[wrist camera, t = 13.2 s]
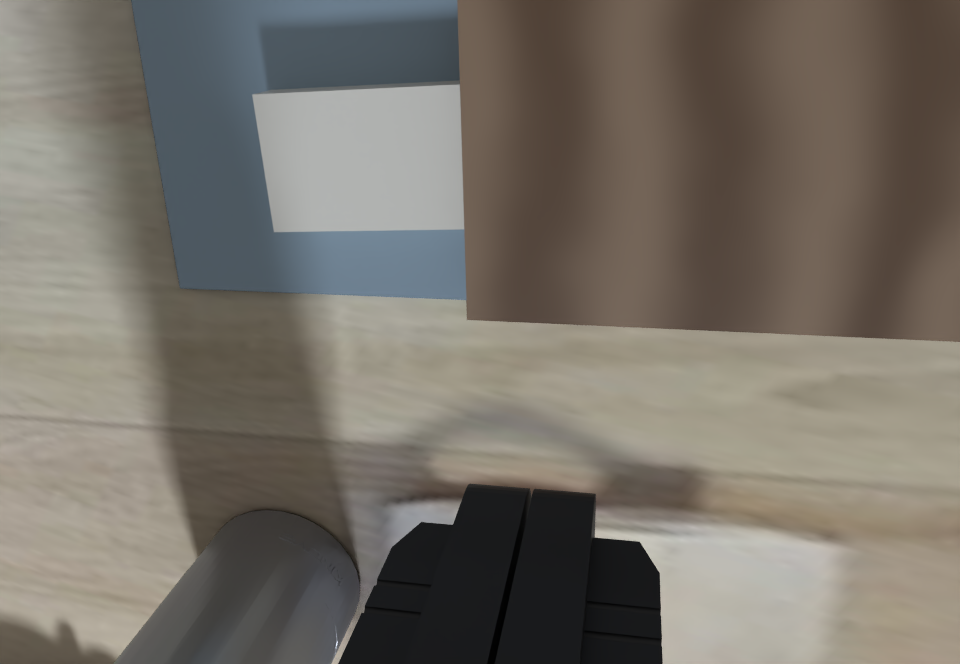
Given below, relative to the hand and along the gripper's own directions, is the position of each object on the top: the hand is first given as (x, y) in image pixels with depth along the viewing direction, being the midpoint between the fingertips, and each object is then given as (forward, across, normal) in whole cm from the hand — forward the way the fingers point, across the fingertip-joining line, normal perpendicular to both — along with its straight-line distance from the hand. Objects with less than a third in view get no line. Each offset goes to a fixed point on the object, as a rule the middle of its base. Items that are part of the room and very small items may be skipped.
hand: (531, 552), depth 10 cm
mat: (+28, +14, 0) cm, 31 cm away
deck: (+28, -4, 0) cm, 28 cm away
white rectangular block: (+27, +10, 0) cm, 29 cm away
